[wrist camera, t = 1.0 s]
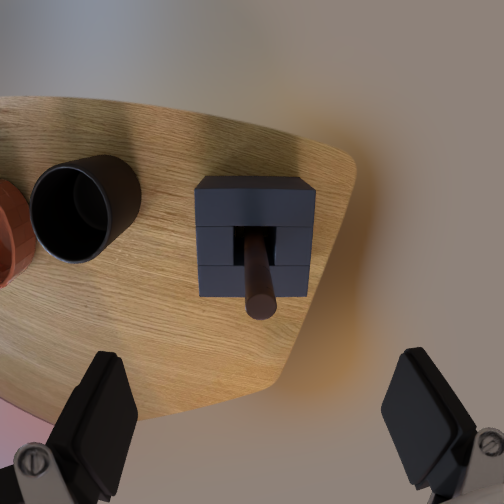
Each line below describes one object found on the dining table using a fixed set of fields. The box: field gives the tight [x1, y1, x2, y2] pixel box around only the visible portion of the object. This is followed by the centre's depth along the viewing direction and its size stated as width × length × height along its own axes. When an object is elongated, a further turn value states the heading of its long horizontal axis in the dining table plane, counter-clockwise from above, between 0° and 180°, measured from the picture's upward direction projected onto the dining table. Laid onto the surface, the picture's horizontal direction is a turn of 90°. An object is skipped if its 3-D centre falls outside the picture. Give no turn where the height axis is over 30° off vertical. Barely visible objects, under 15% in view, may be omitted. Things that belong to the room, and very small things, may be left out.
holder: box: [194, 176, 316, 297], centre depth 31 cm, size 10×10×8 cm
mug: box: [29, 155, 141, 264], centre depth 28 cm, size 9×12×9 cm
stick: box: [244, 226, 277, 320], centre depth 26 cm, size 2×2×18 cm
